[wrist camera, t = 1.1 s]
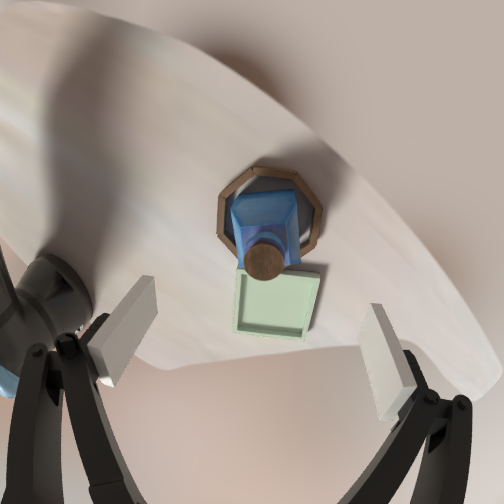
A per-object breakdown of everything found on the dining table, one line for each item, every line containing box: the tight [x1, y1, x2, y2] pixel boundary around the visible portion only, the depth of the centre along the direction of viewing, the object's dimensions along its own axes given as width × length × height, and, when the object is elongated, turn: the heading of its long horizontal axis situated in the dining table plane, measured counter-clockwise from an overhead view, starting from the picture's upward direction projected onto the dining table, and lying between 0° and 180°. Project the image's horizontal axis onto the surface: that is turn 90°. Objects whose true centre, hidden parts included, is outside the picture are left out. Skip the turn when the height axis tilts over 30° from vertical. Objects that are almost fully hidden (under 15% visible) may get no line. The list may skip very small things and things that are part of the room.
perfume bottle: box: [230, 189, 301, 281], centre depth 27 cm, size 6×6×12 cm
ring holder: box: [216, 166, 323, 269], centre depth 32 cm, size 12×12×1 cm
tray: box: [233, 264, 320, 341], centre depth 37 cm, size 10×10×2 cm
